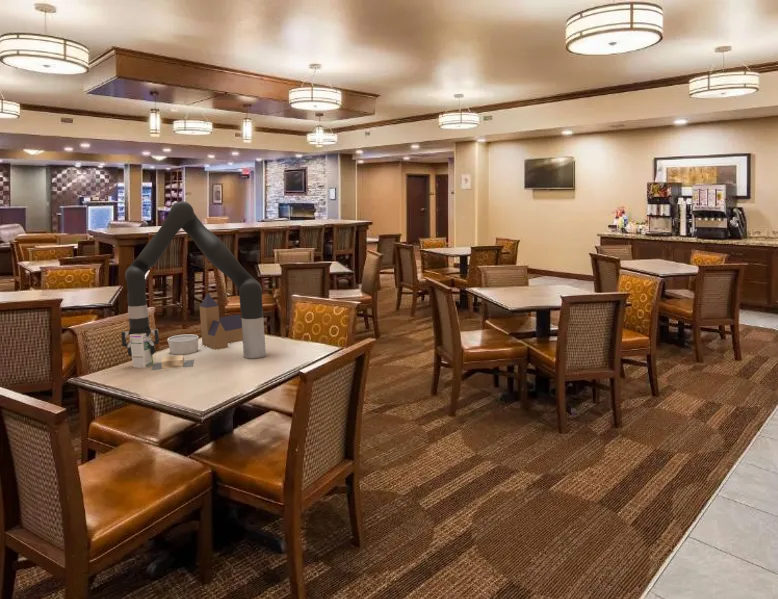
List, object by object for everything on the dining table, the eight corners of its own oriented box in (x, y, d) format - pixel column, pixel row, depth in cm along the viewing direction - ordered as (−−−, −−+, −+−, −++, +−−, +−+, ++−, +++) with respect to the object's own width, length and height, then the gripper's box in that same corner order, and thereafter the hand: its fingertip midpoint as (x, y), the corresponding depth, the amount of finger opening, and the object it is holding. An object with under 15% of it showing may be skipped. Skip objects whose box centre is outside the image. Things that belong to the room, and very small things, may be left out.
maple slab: (184, 361, 248) (183, 355, 248) (182, 367, 241) (182, 359, 240) (163, 363, 246) (163, 356, 246) (161, 368, 239) (161, 361, 238)
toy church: (202, 345, 279) (198, 292, 275) (237, 338, 292) (234, 288, 287) (215, 349, 270) (211, 295, 266) (251, 342, 283) (248, 290, 279)
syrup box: (145, 369, 241) (142, 334, 238) (132, 368, 242) (129, 333, 239) (153, 365, 246) (150, 331, 244) (140, 364, 247) (137, 330, 245)
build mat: (194, 360, 252) (194, 359, 252) (193, 368, 241) (193, 366, 241) (154, 364, 248) (154, 362, 247) (151, 371, 237) (151, 370, 237)
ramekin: (197, 355, 261) (196, 340, 260) (165, 357, 259) (164, 341, 257) (201, 348, 274) (200, 333, 272) (171, 349, 272) (170, 335, 270)
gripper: (158, 313, 246) (161, 351, 249) (120, 315, 242) (124, 354, 245) (156, 316, 239) (159, 355, 242) (117, 319, 235) (121, 359, 238)
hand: (142, 355), depth 243 cm, fingers closed on syrup box, 7 cm apart
